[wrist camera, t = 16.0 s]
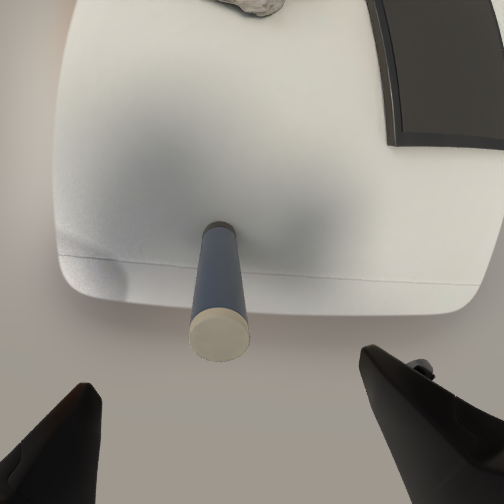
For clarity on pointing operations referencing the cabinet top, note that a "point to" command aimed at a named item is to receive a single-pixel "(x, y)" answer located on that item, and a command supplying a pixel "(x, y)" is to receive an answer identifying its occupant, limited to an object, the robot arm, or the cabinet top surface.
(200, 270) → the stylus
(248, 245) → the cabinet top surface
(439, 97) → the tablet
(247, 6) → the stone
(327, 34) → the cabinet top surface
